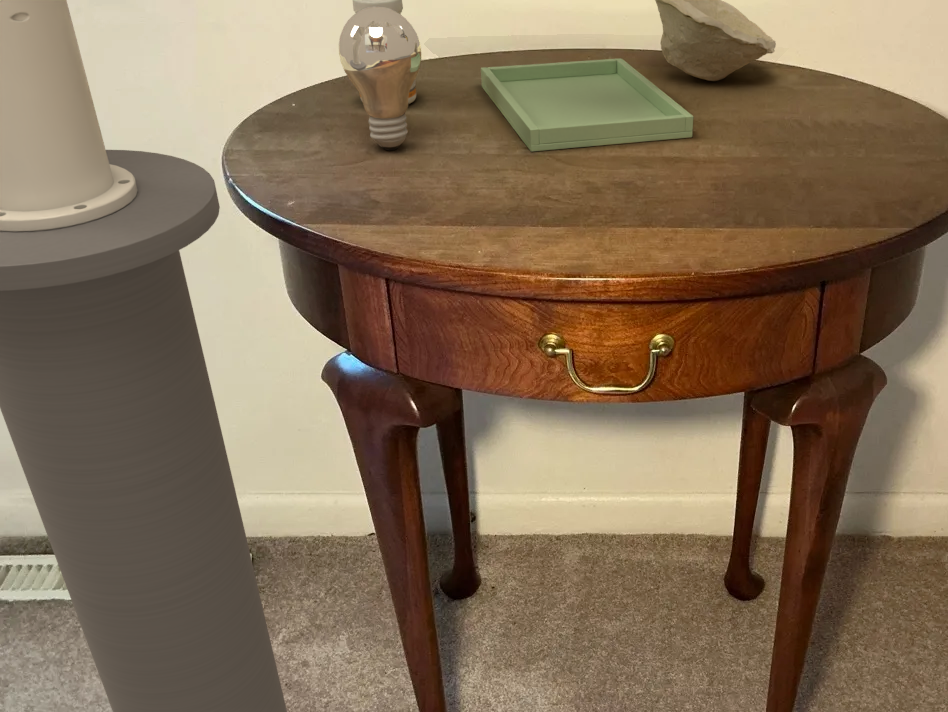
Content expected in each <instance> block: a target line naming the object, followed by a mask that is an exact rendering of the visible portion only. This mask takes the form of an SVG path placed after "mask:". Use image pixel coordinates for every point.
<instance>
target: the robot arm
mask: <svg viewBox="0 0 948 712" xmlns="http://www.w3.org/2000/svg"><path fill="white" fill-rule="evenodd" d="M81 54H82V53H81V51H80V47H79V43H78V39H77V35H76V32H75V26H74V24H73V19H72V16H71V11H70V7H69V5H68V1H67V0H0V231H3V232H34V231H44V230H53V229H59V228H65V227H71V226H75V225H79V224H84V223H87V222H91V221H94V220H97V219H100V218H103V217H105V216H108V215H110V214H113V213H115V212H117V211H119V210H120V209H122V208H124V207H125V206H127V205H128V204H129V203H131V201H132V200H133V199H134V198H135V197H136V194H137V191H138V190H137V186H136V181H135V178H134V176H133V175H132V173H130V172H129V171H127V170H126V169H124V168H121V167H119V166H116V165H111V164H109V161H108V157H107V153H106V150H107V149H106V146H105V142H104V138H103V135H102V132H101V127H100V123H99V119H98V116H97V115H98V114H97V112H96V108H95V104H94V100H93V96H92V93H91V89H90V85H89V81H88V76H87V73H86V70H85V65H84V61H83V58H82V55H81Z"/></svg>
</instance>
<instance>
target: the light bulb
mask: <svg viewBox="0 0 948 712" xmlns="http://www.w3.org/2000/svg"><path fill="white" fill-rule="evenodd" d="M338 57H339V61H340V64H341V66H342V69H343V71H344V73H345V75H346V77H348V79H349V80H350V82H351V83H352V84H353V86H354V87H355V89H356V90H357V91H358V93H360V94H359V96H360V95H361V98H362V101H361V103H362V105H363V109H364V111H365V112H366V114H367V115H368V116H369V118H368V124H369V126H368V129H369V131H370V133H369V136H370V137H369V138H371V139H372V140H373V141H374V142H375V143H376V144H377V145H379V146H380V147H381V148H382V149H383V150H385V151H395V150H397V149H398V147H399V146H401V144H402V143H403V142H404V141H405V140H406V139H407V134H408V129H407V127H408V123H407V122H406V121H407V116H406V112H407V110H408V107H409V104H408V97H409V92H410V88H411V86H412V84H413V82H414V80H415V81H416V78H417V76H418V73H419V71H420V68H421V64H422V63H421V62H422V45H421V41H420V39H419V36H418V33H417V32H416V30H415V28H414V26H413V24H411V23H410V22H409V20H408V19H407V18H406V17H404V16H403V15H402V14H401V15H400V14H399V13H397V12H395V11H393V10H391V9H389V8H385V7H369V8H365V9H362V10H360V11H359V12H357V13H354V14H353V15H352V16H351V17H350V18H349V19H348V20H347V21H346V22H345V24H344V25H343V28H342V29H341V33H340V35H339V40H338Z"/></svg>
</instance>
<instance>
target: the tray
mask: <svg viewBox="0 0 948 712" xmlns="http://www.w3.org/2000/svg"><path fill="white" fill-rule="evenodd" d="M480 81H481V89H483V91H485V93H486V94H487V96H488V97H489V99H491V101H492V102H493V103H494V105H495V106H496V108H497V109H498V110H499V112H501V114H502V115H503V117H504V118H505V120H506V121H507V122H508V124H509V125H510V126H511V127H512V129H513V130H514V131H515V133H516V134H517V135H518V137H519V138H520V139H521V141H522V142H523V143H524V144H525V146H526V147H527V148H528V150H529V151H530V152H531V153H532V152H542V151H543V152H544V151H556V150H565V149H566V150H567V149H576V148H577V149H578V148H587V147H589V148H590V147H599V146H610V145H611V146H612V145H620V144H621V145H622V144H632V143H633V144H634V143H643V142H645V143H646V142H655V141H656V142H657V141H666V140H678V139H688V138H689V139H690V138H693V130H694V115H693V114H692V113H690V112H689V111H687V110H686V109H685V108H684V107H683V106H681V104H679V103H677V101H675V100H674V99H673V98H671V97H670V96H669V95H668V94H666V93H665V92H664V91H663V90H661V89H660V88H659V87H658V86H657V85H655V83H653V82H652V81H651V80H649V79H648V78H647V77H646V76H644V75H643V74H641V73H640V72H639V71H638V70H637V69H635V68H634V67H633V66H632V65H631V64H629V62H627V61H625V59H623V58H622V57H621V58H620V57H619V58H607V59H605V58H604V59H591V60H590V59H589V60H576V61H563V62H561V61H560V62H546V63H545V62H544V63H533V64H532V63H531V64H517V65H503V66H502V65H501V66H500V65H499V66H489V67H488V66H485V67H480Z"/></svg>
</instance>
